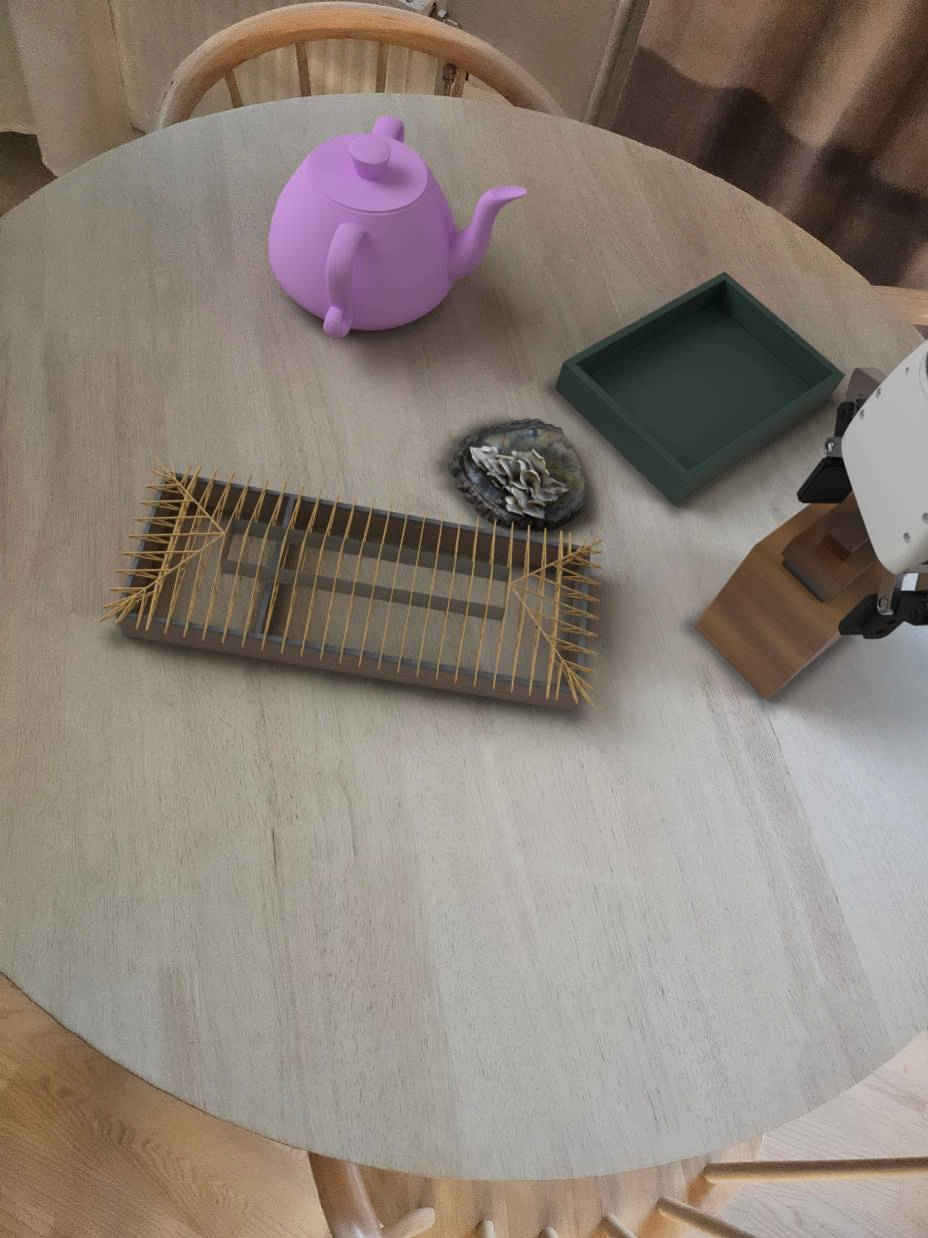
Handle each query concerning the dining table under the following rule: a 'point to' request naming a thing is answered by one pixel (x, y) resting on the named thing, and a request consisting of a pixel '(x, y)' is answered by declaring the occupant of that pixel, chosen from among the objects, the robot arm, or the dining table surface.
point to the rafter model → (355, 584)
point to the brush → (831, 551)
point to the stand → (778, 611)
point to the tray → (697, 385)
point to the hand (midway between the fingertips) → (838, 562)
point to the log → (520, 475)
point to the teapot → (373, 233)
